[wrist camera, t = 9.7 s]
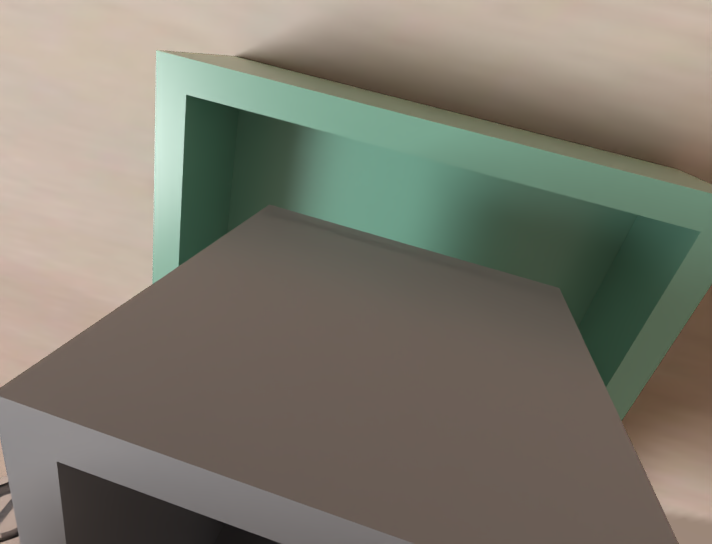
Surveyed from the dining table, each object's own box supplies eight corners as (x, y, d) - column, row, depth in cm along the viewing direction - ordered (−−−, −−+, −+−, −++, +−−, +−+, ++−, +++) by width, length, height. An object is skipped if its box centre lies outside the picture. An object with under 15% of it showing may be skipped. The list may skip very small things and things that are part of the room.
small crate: (269, 204, 10) (-8, 393, 4) (559, 287, 9) (731, 656, 3) (231, 478, 14) (64, 773, 8) (432, 549, 13) (410, 927, 7)
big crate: (233, 55, 14) (156, 50, 10) (677, 169, 13) (762, 207, 9) (205, 385, 20) (149, 453, 16) (504, 484, 19) (515, 581, 15)
